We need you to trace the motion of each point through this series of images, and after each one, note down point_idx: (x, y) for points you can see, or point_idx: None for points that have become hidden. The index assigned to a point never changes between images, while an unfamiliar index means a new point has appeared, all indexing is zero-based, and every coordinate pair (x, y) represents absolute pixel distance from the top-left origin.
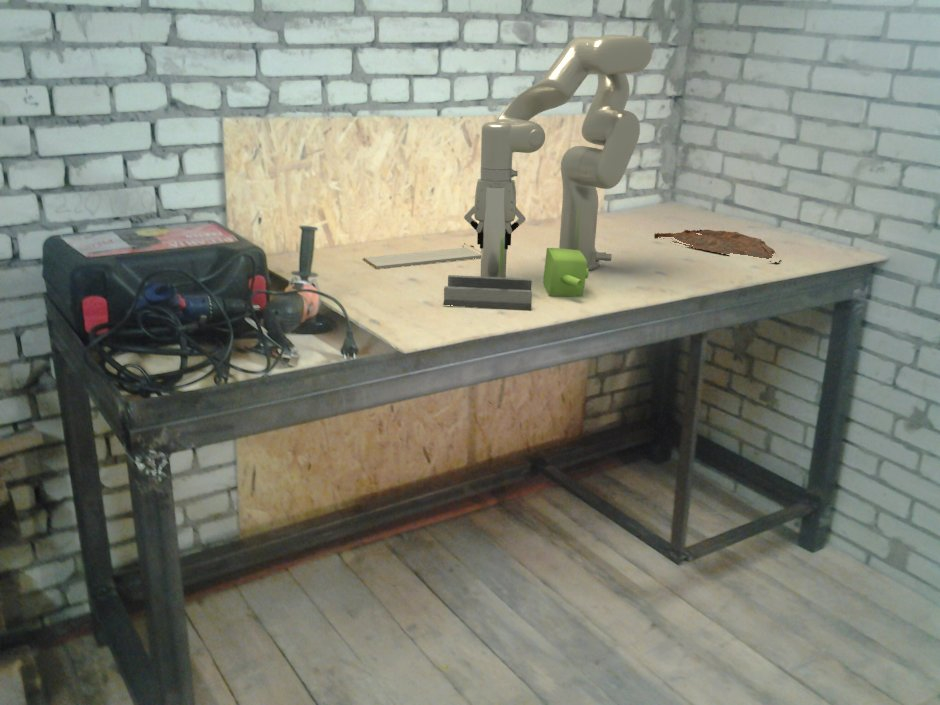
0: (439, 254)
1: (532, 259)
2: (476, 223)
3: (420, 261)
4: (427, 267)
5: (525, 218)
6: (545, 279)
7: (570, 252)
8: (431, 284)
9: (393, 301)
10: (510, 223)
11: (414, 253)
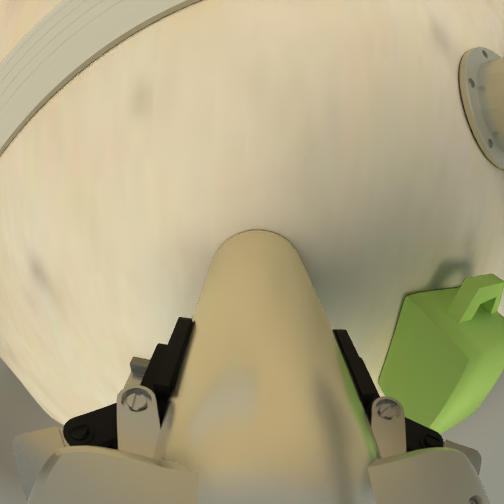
0: (86, 13)
1: (406, 19)
2: (111, 445)
3: (29, 112)
4: (48, 137)
5: (475, 461)
6: (406, 336)
7: (487, 380)
8: (84, 313)
9: (69, 398)
10: (396, 451)
11: (30, 37)
